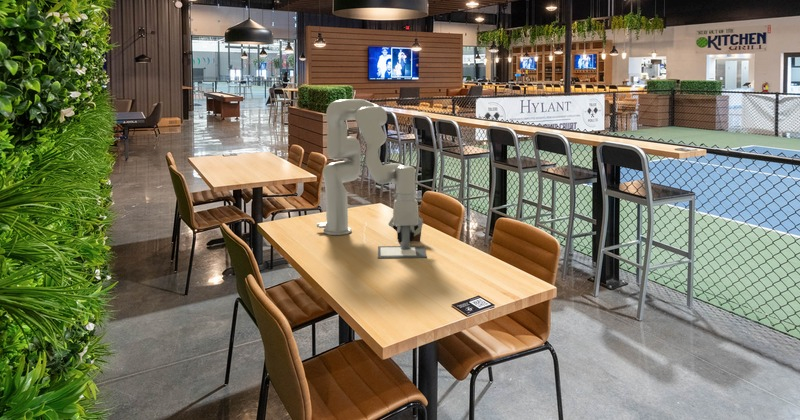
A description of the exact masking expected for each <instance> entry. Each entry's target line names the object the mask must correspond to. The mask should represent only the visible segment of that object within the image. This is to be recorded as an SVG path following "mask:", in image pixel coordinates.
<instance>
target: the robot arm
mask: <svg viewBox="0 0 800 420" xmlns="http://www.w3.org/2000/svg"><path fill="white" fill-rule="evenodd" d="M325 114H326V123H327V124H326V125H327V133H326V135H327V136H326V151H327V152H326V154H327V157H328V158H329V159H331V160H334V161H335V160H337V161H335V162H330V163H328V164H326V165H325V166H324V168H323V169H322V178H323V182H324V183H323V184H324V187H325V188H324V189H325V209H326V211H325V214H326V215H325V217H326V221H325V222H317V223H316V228H319V229H323V231H322V232H323V233H324V234H326V235H329V236H342V235H343V236H344V235H347V234H348V235H349V234H350V233H352V228H351V227H349V216H348V214H349V212H348V211H349V210H348V192H347V189H346V187H345V185H344V183H349V182H354V181H356V180H357V179H359V176H360V171H361V156H362V155H361V154H362V149H361V143H360V141H359V140H358V138H357V137H355V136H353V135H352V136H348V127H347V124H346V122H345V121H348V120H350V121H351V120H355V122H356V125H357V126H358V129H359V131H360V134H361V135H362V137H363V139H364V142H365V143H366V146H367V149H366V154H365V163H366V168H367V169H368V171H369V174H370V175H371V178H372V179H373V181H374V182H375V183H377V184H379V185H386V184H389V183H391V184H392V183H395V187H396V189H395V193H393V194H392V198H394V201H393V209H392V217H391V219H390V220H389V222H388V226H389V227H390V228H392V229H393V230H394V231H396V235H397V238H396V239H397V241H398V240H399V242H398V243H401V231H400V227H401V226H411V232H410V242H411V243H413V242H412V240H413V239H414V232H415V231H416V230H417V229H418V228H419V227H420V226H422V227H423V225H424V224H423V223H424V222H423V223H422V221H421V220H420V218H421V217H420V216H419V206H418V201H417V199H416V169H415V167H414V166H412V165H403V164H402V163H398V162H394V163H386V164H382V161H381V159H380V157H379V149H380V147H381V146H382V145H384V144H385V143H386V141H387V136H386V134H385V132H384V129H383V128H382V126H384V125H385V124H386V123H387V121H388V115H387V111H386V110H385V109H384V108H383V106H380V105H378V104H376V103H373V102H370V101H369V100H366V99H363V98H350V99H337V100H334V101H332V102H331V103H329V105H328V106H327V108H326V113H325ZM338 160H342V161H338ZM419 217H420V218H419Z"/></svg>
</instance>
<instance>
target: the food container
mask: <svg viewBox="0 0 800 420" xmlns="http://www.w3.org/2000/svg"><path fill="white" fill-rule="evenodd" d="M418 217H419V218H420V220H421V221H422V223H423V225H424V219H423V217H420V216H418ZM423 225H422V226H420V227H419V228H418V229H417V230H416V231H415V232H414V239H413V240H412V242H411V243H420V242H421V237H422V228H423ZM400 231H401V227H400ZM397 241H398V243H400V242H399V240H397Z"/></svg>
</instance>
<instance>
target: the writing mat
mask: <svg viewBox="0 0 800 420" xmlns="http://www.w3.org/2000/svg"><path fill="white" fill-rule="evenodd" d="M427 258H428V256H427V251H426V248H425V245H411V248H410V249H408V250H403V249H401V245H391V246H390V245H384V246H383V245H380V246H379V245H378V247H377V259H427Z"/></svg>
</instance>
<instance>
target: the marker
mask: <svg viewBox="0 0 800 420" xmlns="http://www.w3.org/2000/svg"><path fill="white" fill-rule="evenodd" d="M410 232H411V226H401V242H400V246H401V249H403V250H408V249H410V248H411V246H412V245H411V243H412V242H410Z"/></svg>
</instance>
